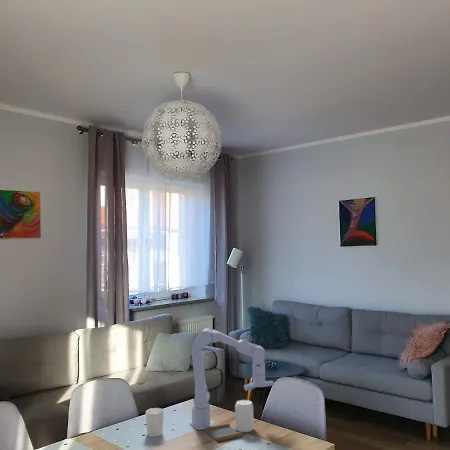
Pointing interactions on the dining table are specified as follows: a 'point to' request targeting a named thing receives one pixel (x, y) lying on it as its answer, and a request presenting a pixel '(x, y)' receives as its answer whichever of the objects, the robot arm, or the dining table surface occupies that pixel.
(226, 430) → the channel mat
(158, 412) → the white cup
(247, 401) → the beverage can
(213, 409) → the dining table surface
